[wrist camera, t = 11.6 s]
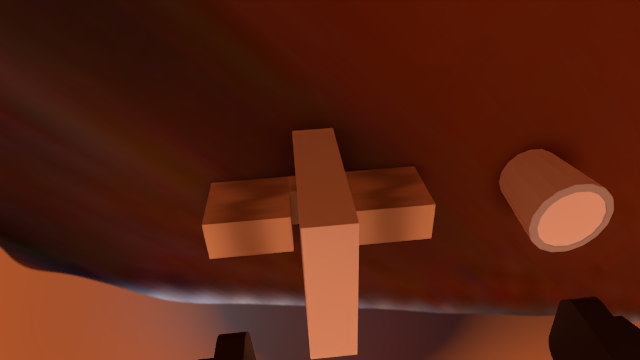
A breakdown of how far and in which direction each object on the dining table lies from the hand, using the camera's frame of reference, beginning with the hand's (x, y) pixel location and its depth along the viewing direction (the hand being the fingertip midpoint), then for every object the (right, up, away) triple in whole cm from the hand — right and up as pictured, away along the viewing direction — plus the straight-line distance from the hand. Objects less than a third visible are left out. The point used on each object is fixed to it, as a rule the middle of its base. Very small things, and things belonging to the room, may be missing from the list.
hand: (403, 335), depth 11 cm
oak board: (-3, +3, +28) cm, 28 cm away
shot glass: (+17, +5, +29) cm, 35 cm away
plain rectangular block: (-3, +3, +28) cm, 28 cm away
